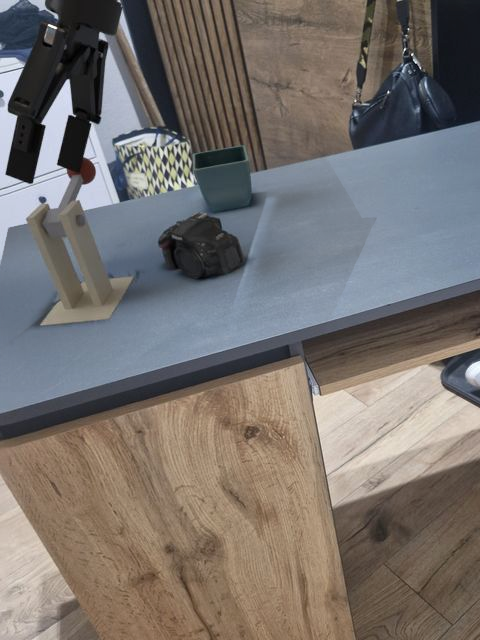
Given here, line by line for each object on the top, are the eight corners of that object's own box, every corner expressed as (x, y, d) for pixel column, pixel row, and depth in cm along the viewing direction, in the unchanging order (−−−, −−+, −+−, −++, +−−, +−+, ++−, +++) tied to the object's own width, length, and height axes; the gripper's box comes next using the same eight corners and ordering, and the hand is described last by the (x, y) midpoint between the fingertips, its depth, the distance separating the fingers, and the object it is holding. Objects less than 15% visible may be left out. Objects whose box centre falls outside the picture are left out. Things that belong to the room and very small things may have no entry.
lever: (77, 175, 88) (65, 152, 85) (103, 172, 87) (92, 149, 85) (48, 243, 78) (33, 219, 76) (76, 240, 78) (63, 216, 76)
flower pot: (260, 213, 105) (248, 159, 100) (206, 223, 104) (192, 169, 99) (255, 195, 112) (245, 143, 107) (205, 204, 111) (192, 153, 106)
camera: (155, 287, 87) (136, 229, 82) (182, 258, 94) (166, 203, 89) (233, 288, 84) (218, 228, 79) (255, 258, 91) (242, 201, 86)
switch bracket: (74, 289, 90) (36, 195, 82) (137, 283, 89) (104, 188, 81) (43, 332, 81) (-4, 232, 73) (112, 326, 80) (72, 223, 72)
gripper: (78, -22, 59) (29, 198, 65) (153, 16, 82) (111, 175, 89) (-4, -57, 58) (-45, 170, 64) (96, -9, 81) (57, 154, 88)
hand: (45, 173), depth 77 cm, fingers open, 13 cm apart
